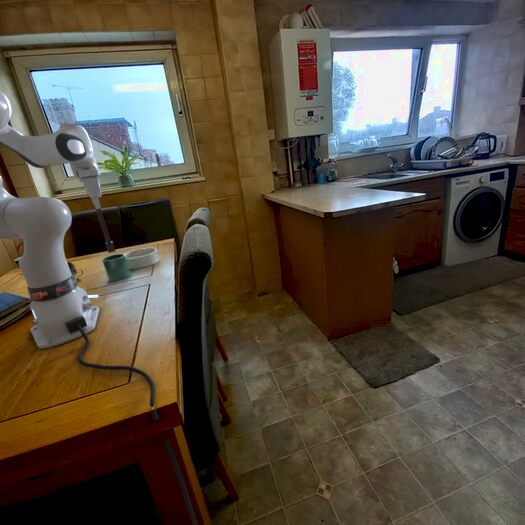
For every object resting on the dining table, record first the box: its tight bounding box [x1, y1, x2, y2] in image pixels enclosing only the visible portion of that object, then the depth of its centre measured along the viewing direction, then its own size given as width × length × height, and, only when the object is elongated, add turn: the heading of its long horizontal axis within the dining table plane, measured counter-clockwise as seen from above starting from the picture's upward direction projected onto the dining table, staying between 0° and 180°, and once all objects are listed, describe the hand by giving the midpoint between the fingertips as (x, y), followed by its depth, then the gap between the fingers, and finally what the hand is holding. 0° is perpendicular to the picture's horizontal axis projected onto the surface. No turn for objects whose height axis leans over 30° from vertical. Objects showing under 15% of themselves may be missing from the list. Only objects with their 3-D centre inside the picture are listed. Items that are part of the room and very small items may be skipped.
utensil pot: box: [101, 253, 131, 283], centre depth 119 cm, size 9×9×10 cm
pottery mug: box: [67, 261, 77, 274], centre depth 130 cm, size 12×10×8 cm
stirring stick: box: [95, 207, 116, 254], centre depth 112 cm, size 3×3×22 cm
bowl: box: [123, 246, 160, 270], centre depth 135 cm, size 16×16×6 cm
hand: (98, 208), depth 110 cm, fingers closed on stirring stick, 2 cm apart
